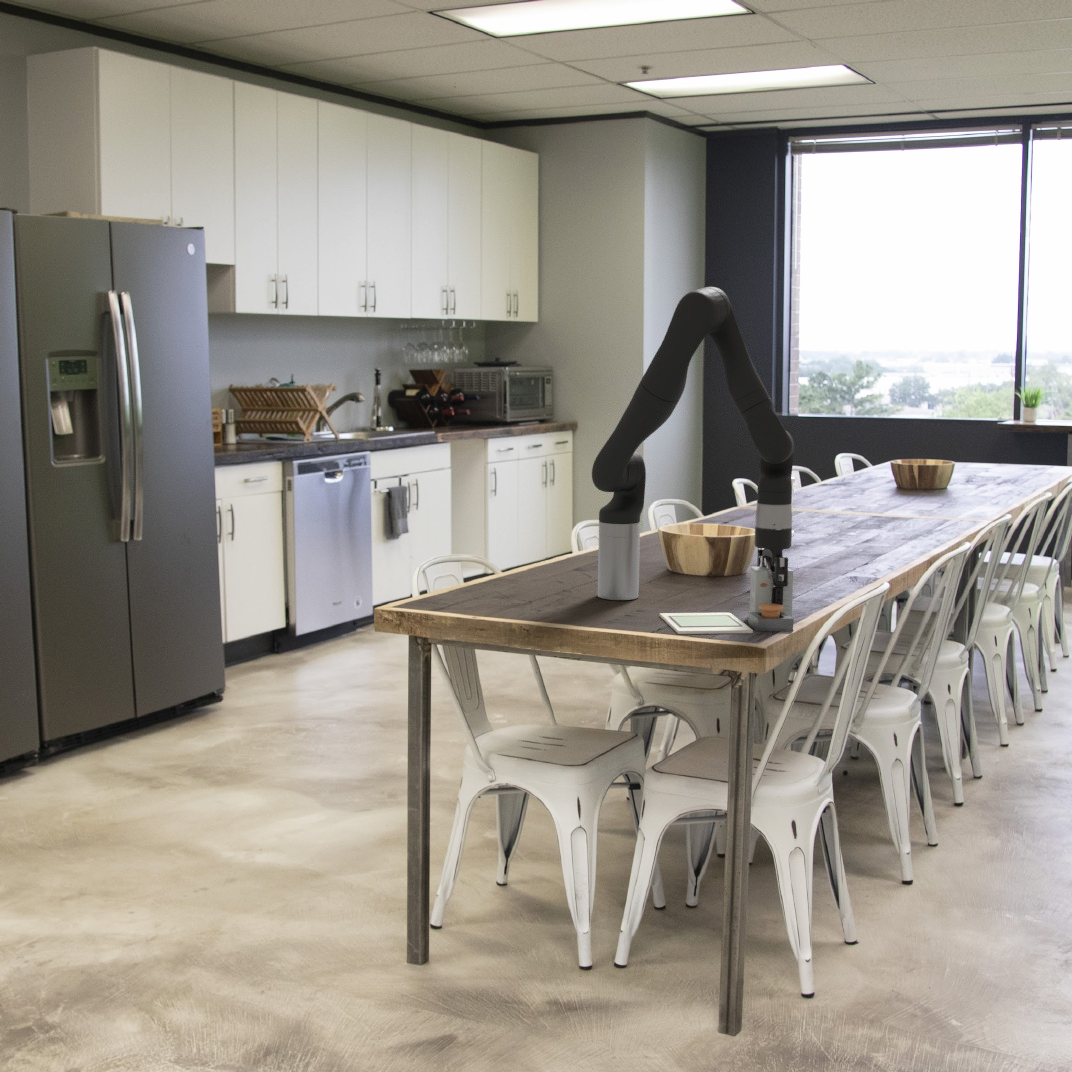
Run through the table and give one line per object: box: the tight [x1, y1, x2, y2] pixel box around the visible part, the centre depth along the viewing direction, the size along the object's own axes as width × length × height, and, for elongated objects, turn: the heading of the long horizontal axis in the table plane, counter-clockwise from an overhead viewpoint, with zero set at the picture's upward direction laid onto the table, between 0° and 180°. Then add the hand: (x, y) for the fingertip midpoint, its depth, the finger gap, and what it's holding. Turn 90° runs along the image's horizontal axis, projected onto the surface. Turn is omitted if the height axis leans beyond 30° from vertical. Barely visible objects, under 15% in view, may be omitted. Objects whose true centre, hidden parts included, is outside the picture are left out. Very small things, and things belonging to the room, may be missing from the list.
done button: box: [759, 603, 783, 618], centre depth 256 cm, size 5×5×3 cm
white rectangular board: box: [659, 612, 754, 635], centre depth 259 cm, size 18×15×1 cm
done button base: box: [747, 611, 794, 632], centre depth 257 cm, size 7×7×2 cm
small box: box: [749, 566, 794, 618], centre depth 266 cm, size 8×6×10 cm
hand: (771, 602), depth 266 cm, fingers open, 8 cm apart
